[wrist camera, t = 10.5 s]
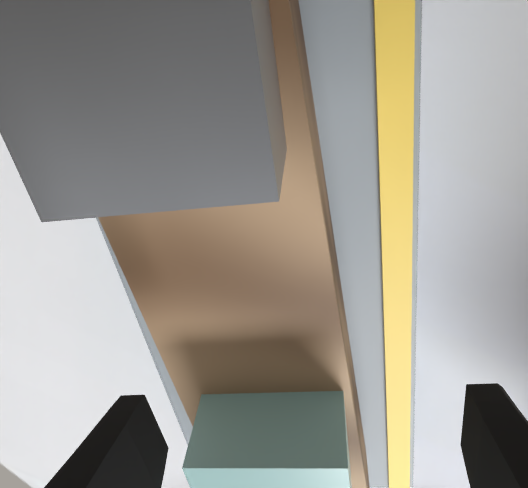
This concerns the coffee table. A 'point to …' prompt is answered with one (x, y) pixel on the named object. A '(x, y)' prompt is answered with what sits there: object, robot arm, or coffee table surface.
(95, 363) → the coffee table surface
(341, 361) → the wooden plank
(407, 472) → the dock
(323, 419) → the teal square block
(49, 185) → the crate
